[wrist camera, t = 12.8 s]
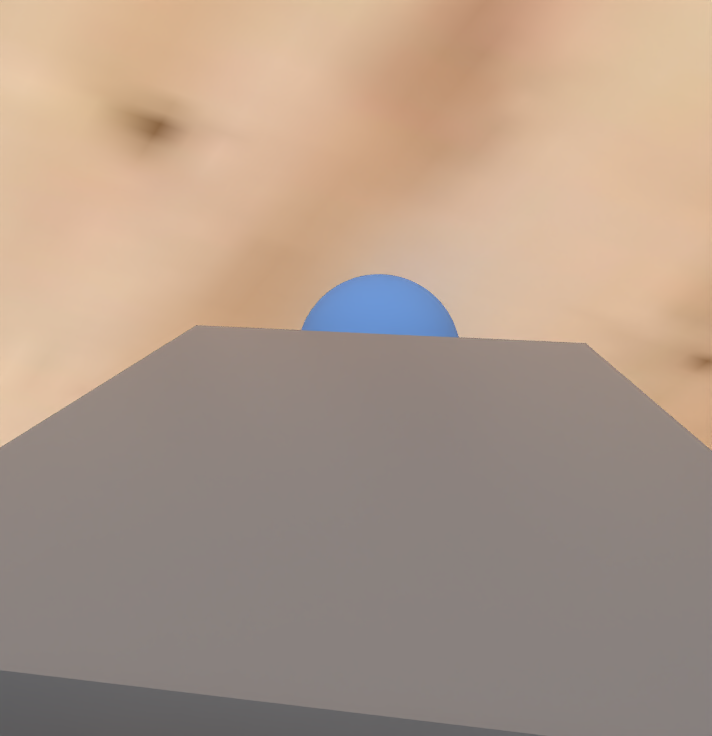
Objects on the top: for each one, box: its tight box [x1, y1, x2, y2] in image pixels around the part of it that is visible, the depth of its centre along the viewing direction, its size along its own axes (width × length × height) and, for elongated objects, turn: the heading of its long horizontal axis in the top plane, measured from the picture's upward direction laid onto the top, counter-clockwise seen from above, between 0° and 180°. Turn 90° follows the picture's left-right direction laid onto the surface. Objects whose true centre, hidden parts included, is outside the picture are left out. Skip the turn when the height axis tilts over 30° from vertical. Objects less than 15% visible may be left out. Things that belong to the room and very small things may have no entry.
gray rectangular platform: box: [0, 325, 712, 736], centre depth 7 cm, size 8×8×7 cm
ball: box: [302, 274, 458, 337], centre depth 15 cm, size 5×5×5 cm
